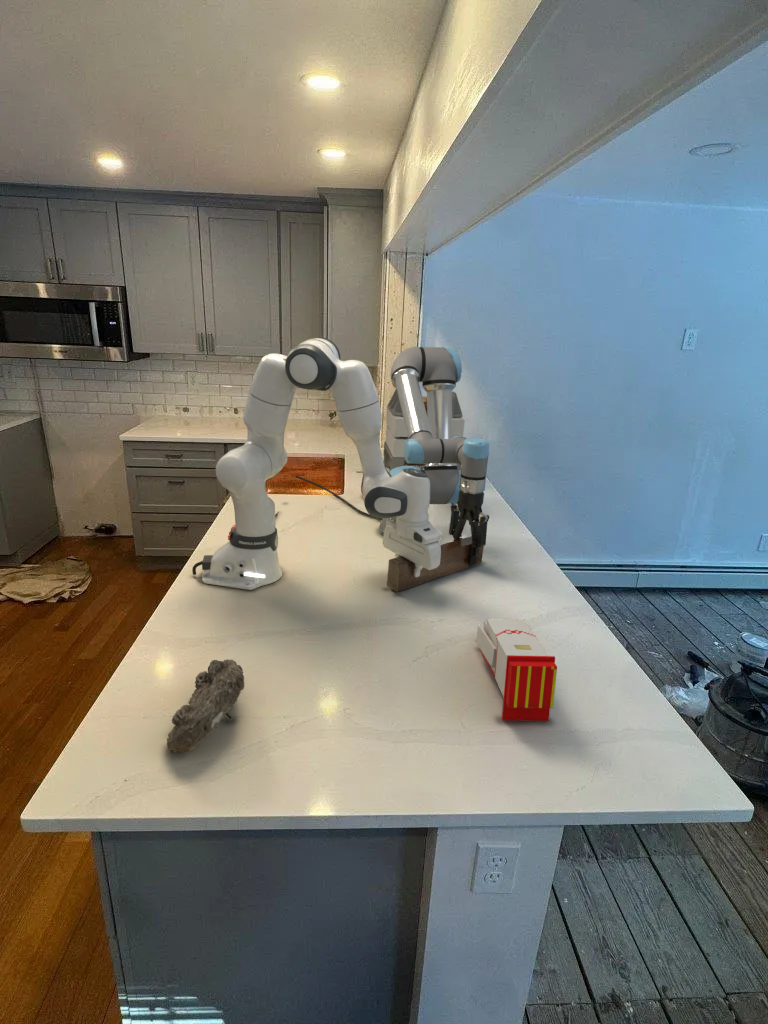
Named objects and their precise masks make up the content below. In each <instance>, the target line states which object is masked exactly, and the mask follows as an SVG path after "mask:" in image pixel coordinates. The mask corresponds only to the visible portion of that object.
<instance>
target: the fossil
mask: <svg viewBox="0 0 768 1024" xmlns="http://www.w3.org/2000/svg"><path fill="white" fill-rule="evenodd" d="M243 670H244V669H243V667H242V665H240V664H237V662H236V661H235V660H234V659H232V658H231V659H227V658H226V659H224V660H223V661H222V660H217V659H212V660H211V661H210V663H209V665H208V666H207V671H201V672H199V673H198V674H197V675H196V676H195V680H194V684H195V685H194V687H195V689H194V690H193V693H192V694H191V697H190V698H189V700H188V704H184V705H182V706H181V707H180V709H177V710H176V711H175V713H174V715H173V716H172V718H171V723H172V724H173V727H172V730H171V731H170V732H168V734H167V738H166V741H167V742H166V745H167V749H168V750H169V751H173V752H174V753H176V754H178V753H182V752H188V751H189V752H192V751H193V750H195V748H196V747H197V746H199V744H200V743H201V742H203V741H204V740H205V739H206V738H207V737H208V736H209V735H210V734H211V733H212V732H214V730H215V729H217V727H218V726H219V724H220V722H221V721H222V720H223V719H224V718H225V716H226V717H227V719H229V720H233V717H232V715H230V714H229V710H230V709H231V708H234V706H235V704H236V703H237V702H238V699H239V697H240V695H241V693H242V691H243V690H245V689H244V688H245V675H244V671H243Z"/></svg>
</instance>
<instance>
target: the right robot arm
mask: <svg viewBox="0 0 768 1024" xmlns="http://www.w3.org/2000/svg"><path fill="white" fill-rule="evenodd" d="M461 359H462V358H461V357H460V354H459V352H458V351H457V350H456V349H455V348H452V347H445V346H439V347H438V346H435V347H434V346H411V347H406V348H405V349H404V350H402V351H400V353H399V354H397V356H396V357H395V359H394V360H393V363H392V365H391V368H390V380H391V384H392V386H393V388H394V389H395V390H396V389H397V393H398V397H399V401H400V406H401V410H402V414H403V418H404V422H405V427H406V431H407V435H408V439H407V440H406V441H405V443H404V458H405V461H406V462H407V463H411V464H425V465H424V466H423V470H422V469H421V467H420V466H407V465H404V466H401V467H397V468H394V469H392V470H390V469H389V470H388V472H389V473H390V475H391V476H394V475H396V474H398V473H399V472H401V471H402V470H403V469H408V468H411V469H416V470H420V471H422V472H424V473H425V474H426V475H427V476H428V478H429V480H430V504H429V505H448V504H450V512H451V513H450V521H449V529H448V534H449V536H452V538H453V541H456V540H460V539H463V538H464V537H463V532H464V529H465V527H466V523H467V522H468V525H469V526H470V536H472V543H473V545H472V546H470V555H469V564H468V566H472V565H475V564H476V560H477V556H478V555H479V548H480V547H482V546H484V547H485V546H486V545H487V533H488V522H489V519H490V515H489V514H485V513H483V510H482V506H483V504H484V499H485V490H486V480H487V471H488V461H489V456H490V443H489V441H488V440H487V439H483V438H480V437H467V438H466V437H465V436H463V437H462V436H455V437H453V438H452V392H453V390H454V389H455V388H456V387H457V383H458V382H460V381H461V378H462V373H463V367H462V366H463V365H462V360H461ZM420 383H422V384H421V385H422V386H421V387H422V389H423V390H424V391H425V392H426V397H427V413H426V409H425V405H424V402H423V398H422V397H423V394H422V391H421V387H420ZM456 463H459V464H460V465H461V471H459V470H457V464H456ZM295 478H297V479H299V480H302V481H304V482H307V483H309V484H311V485H314V486H316V487H318V488H320V489H322V490H324V491H326V492H328V493H330V494H331V495H333V496H334V497H336V498H338V499H339V500H340V501H342V502H343V503H344V504H346V505H347V506H349V507H350V508H352V509H353V510H354V511H356V512H358V513H359V514H362V515H364V516H365V517H366V516H367V517H368V518H369V517H370V518H373V519H375V520H379V521H381V522H379V525H378V533H379V534H380V535H381V536H382V537H383V536H384V530H385V527H386V521H387V520H388V519H390V518H383V519H380V518H375V517H373V516H371V515H370V514H369V513H368V512H365V511H363V510H360V509H359V508H357V507H356V506H354V505H353V504H351V503H350V502H349V501H347V500H345V499H344V498H343V497H342V496H339V494H337V493H335V492H334V491H332V490H330V489H328V488H327V487H324V486H323V485H320V484H319V483H316V482H314V481H311V480H309V479H306V478H305V477H301V476H299V475H295ZM457 501H458V502H459V504H454V505H452V504H451V503H455V502H457ZM392 518H394V519H395V520H396V517H392ZM475 566H476V565H475ZM472 567H473V566H472Z"/></svg>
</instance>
